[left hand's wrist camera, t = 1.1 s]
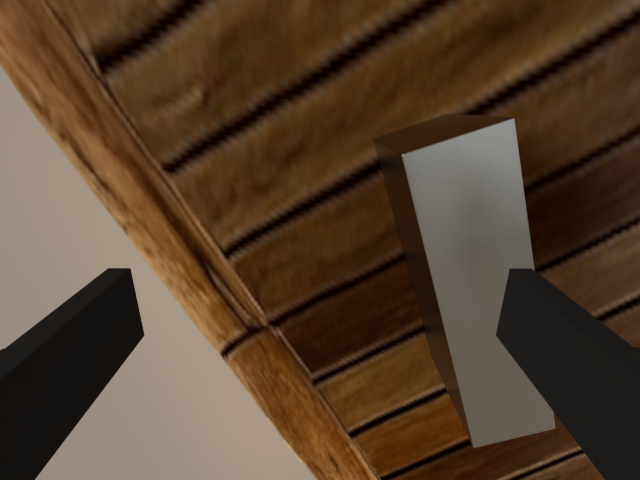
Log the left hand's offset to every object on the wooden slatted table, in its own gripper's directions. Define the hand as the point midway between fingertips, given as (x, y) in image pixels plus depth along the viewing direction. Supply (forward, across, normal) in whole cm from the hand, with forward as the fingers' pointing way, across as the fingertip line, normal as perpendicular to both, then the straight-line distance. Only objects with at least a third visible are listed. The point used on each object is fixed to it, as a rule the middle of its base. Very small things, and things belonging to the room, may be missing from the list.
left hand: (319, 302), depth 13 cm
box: (+19, +11, -6) cm, 23 cm away
